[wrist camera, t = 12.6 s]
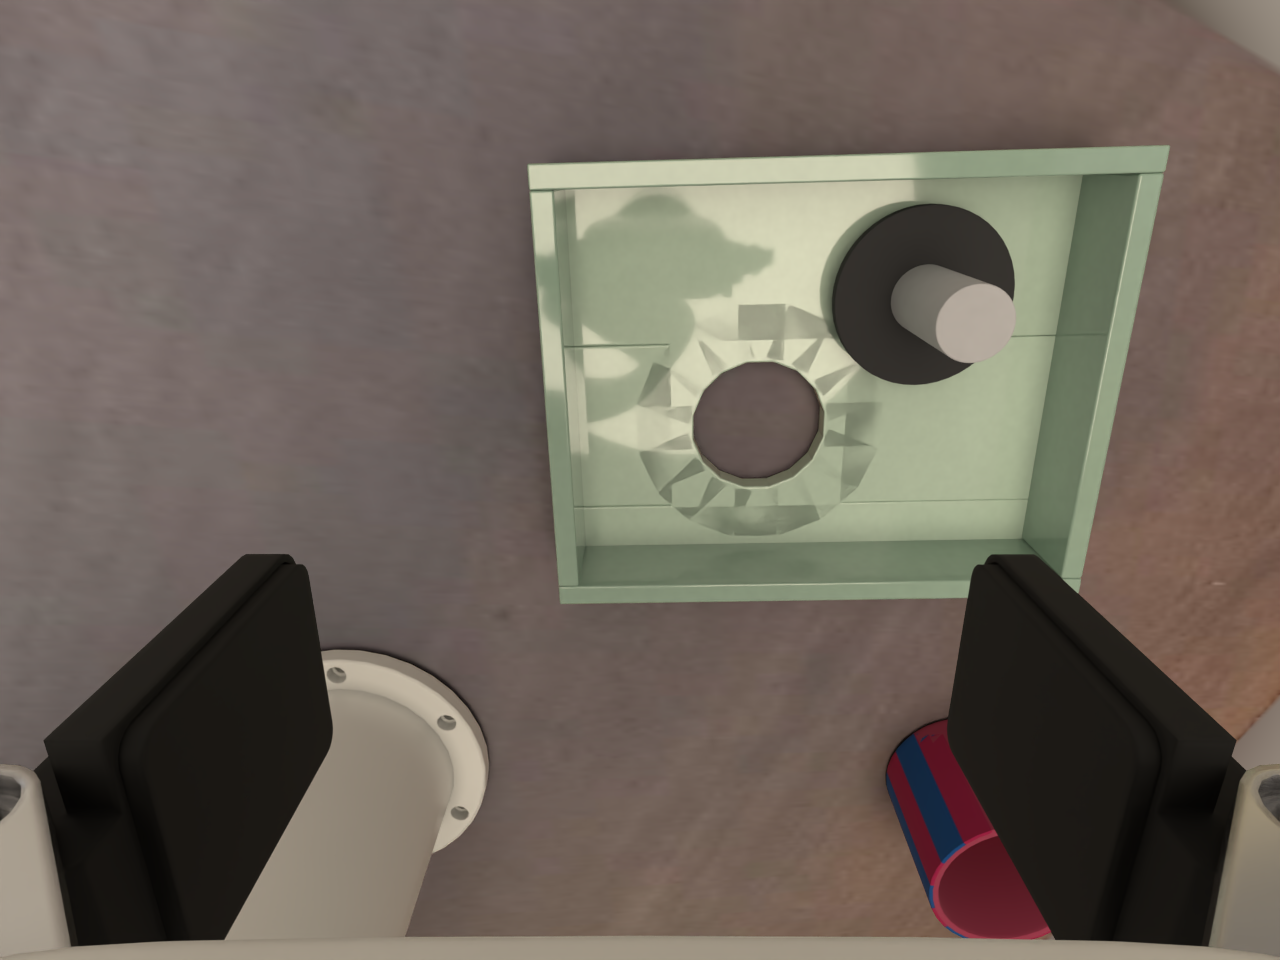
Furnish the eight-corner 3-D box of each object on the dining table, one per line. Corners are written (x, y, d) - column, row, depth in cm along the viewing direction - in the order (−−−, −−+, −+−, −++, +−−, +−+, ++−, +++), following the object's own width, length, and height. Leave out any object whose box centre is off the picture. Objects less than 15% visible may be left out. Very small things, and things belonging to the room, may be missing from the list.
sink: (1027, 544, 34) (1078, 597, 30) (570, 552, 35) (559, 604, 31) (1095, 147, 29) (1171, 144, 24) (545, 163, 29) (526, 163, 25)
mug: (860, 797, 40) (899, 916, 33) (969, 643, 36) (1035, 744, 30) (974, 839, 41) (1033, 963, 34) (1090, 693, 37) (1179, 801, 31)
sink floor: (1027, 544, 34) (1037, 555, 34) (570, 552, 35) (568, 562, 34) (1095, 147, 29) (1110, 147, 28) (545, 163, 29) (541, 163, 28)
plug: (986, 374, 31) (1065, 424, 25) (821, 377, 31) (860, 427, 25) (1011, 200, 28) (1104, 209, 22) (832, 204, 28) (878, 214, 23)
